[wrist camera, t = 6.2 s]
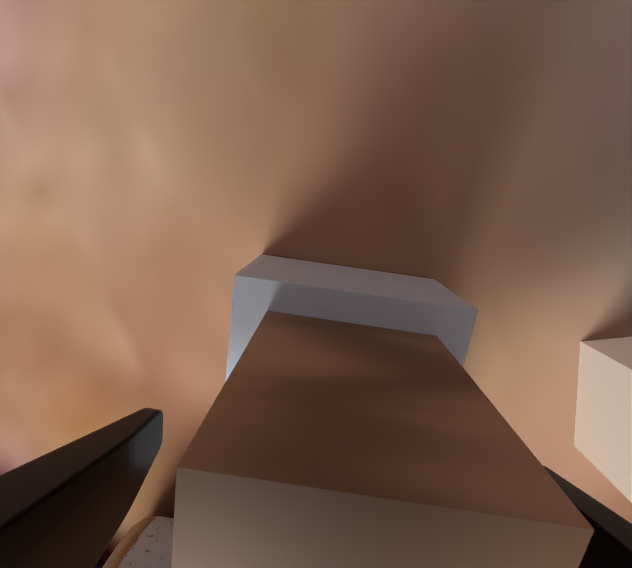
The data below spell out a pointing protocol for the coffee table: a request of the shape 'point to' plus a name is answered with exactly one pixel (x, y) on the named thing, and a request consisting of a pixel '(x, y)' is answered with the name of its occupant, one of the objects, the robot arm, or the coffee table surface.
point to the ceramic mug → (145, 545)
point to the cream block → (606, 409)
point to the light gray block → (345, 301)
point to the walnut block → (363, 462)
